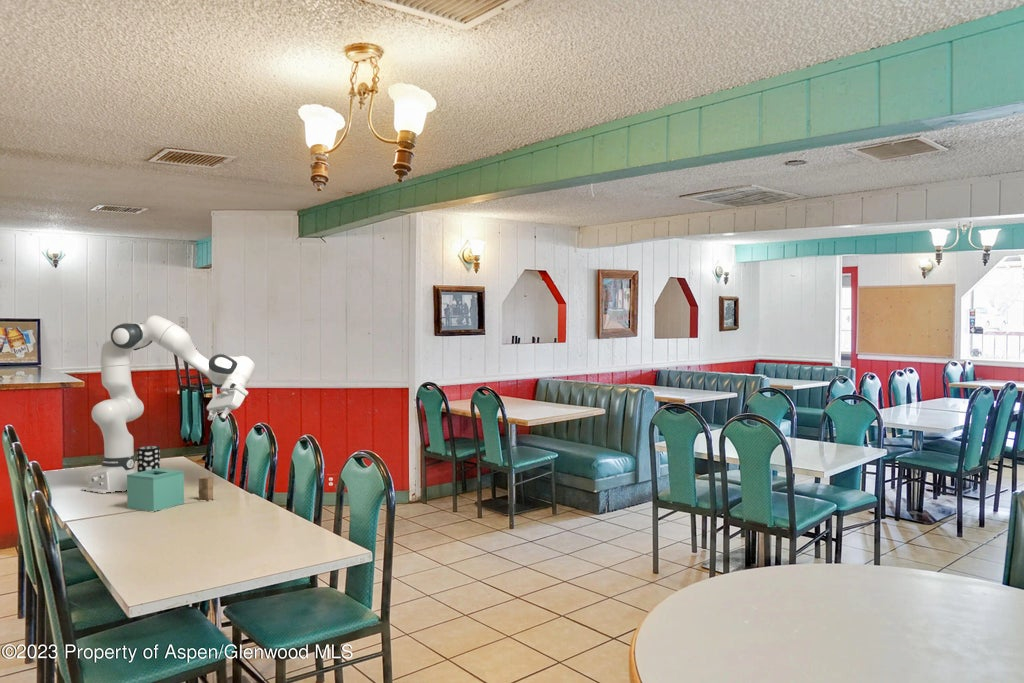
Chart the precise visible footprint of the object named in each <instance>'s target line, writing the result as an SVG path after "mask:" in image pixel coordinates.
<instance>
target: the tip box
mask: <svg viewBox="0 0 1024 683" xmlns="http://www.w3.org/2000/svg"><path fill="white" fill-rule="evenodd" d="M184 474H185V471H184V470H179V469H169V468H161V467H160V468H156V469H151V470H146V471H142V472H137V471H136V473H132V474H128V475H127V491H126V494H127V495H126V496H127V497H126V500H127V501H126V502H127V504H126V505H127V506H126V507H127V509H128V508H131V509H130V510H135V509H138V510H137V511H142V510H147V511H146V512H149V511H156V512H158V511H157V510H160V511H162V510H161V509H164V508H167V509H169V508H168V507H171V508H173V507H172V506H174V507H176V506H175V505H178V506H181V505H184V504H185V477H184V476H185V475H184ZM183 503H184V504H183ZM180 504H181V505H180ZM164 510H165V509H164Z"/></svg>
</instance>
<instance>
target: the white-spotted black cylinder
mask: <svg viewBox="0 0 1024 683" xmlns="http://www.w3.org/2000/svg"><path fill="white" fill-rule="evenodd" d="M136 454H137V455H136V460H137V461H136V464H137V465H136V466H137V471H136V473H137V472H142V471H146V470H151V469H156V468H161V447H160V446H159V445H147V446H139V447H137V448H136Z"/></svg>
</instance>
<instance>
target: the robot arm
mask: <svg viewBox="0 0 1024 683" xmlns="http://www.w3.org/2000/svg"><path fill="white" fill-rule="evenodd" d="M153 343H156V345H157V344H158V345H159V346H161V347H162V348H163V349H165V350H167V351H168V352H170V353H172V354H173V355H175V356H176V357H178V358H179V359H181V360H183V361H184V362H185V363H187V364H188V365H189V366H191V367H192V368H194V369H195V370H197V371H198V372H199V373H201V374H202V375H203V376H204V377H205V378H206V379H207V380H208V382H209V384H211V385H212V387H215V388H219V392H218V393H217V394H215V395H214V396H213V397H212V398H211V400H210V401H209V403H208V404H207V405H206V411H208V416H207V420H208V421H213V420H214V419H215V415H216V414H217V413H220V415H219V418H220V419H226V417H227V416H228V415H229V414H230V412H232V411H233V410H237V409H239V407H240V406H241V405H242V403H243V402H244V400H245V398H246V396H248V395H249V391H248V390H247V389H246V388H247V387H246V386H247V385H248V383H249V382H250V381H251V379H252V377H253V376H254V372H255V370H256V364H255V362H254V360H252V359H251V358H250V357H249V356H247V355H240V356H231V355H227V354H222V353H218V354H215V355H213V356H211V358H209V359H208V357H205V356H204V355H203V354H201V353H200V352H199V351H198V350H197V348H196V346H195V345H194V343H193V341H192V338H191V336H190V334H189V333H188V332H187V331H186V330H185V329H184V328H183V327H181V326H180V325H178V324H177V323H175V322H173V321H172V320H169V319H168V318H165V317H163V316H160V315H158V314H155V315H154V314H153V315H150V316H149V317H147V318H146V319H145V320H144V321H143V322H142V323H141V322H129V323H127V322H126V323H125V322H124V323H121V324H118V325H116V326H114V328H113V329H112V330H111V332H110V339H109V340H107V341H105V342H104V343H103V344H102V346H101V351H100V375H101V385H102V386H103V388H105V389H106V390H107V392H108V394H109V397H110V399H105V400H102V401H100V402H98V403H97V404H95V405H94V406H93V407H92V410H91V419H92V421H93V422H94V423H95V424H97V426H98V427H99V429H100V431H101V435H102V436H103V444H104V445H103V449H104V450H103V451H104V454H103V455H104V457H102V458H101V457H100V459H99V462H101V464H100V466H99V467H98V468H96V469H95V470H94V471H93V472H92V473H89V476H88V479H87V485H85V486H82V487H81V491H84V490H86V491H85V492H90V491H93V492H92V493H95V492H98V493H97V494H101V493H103V494H107V493H106V492H111V493H116V492H115V491H122V492H127V491H126V490H127V475H128V474H132V473H137V471H136V468H135V463H136V455H135V453H134V451H135V450H134V449H135V448H134V447H135V446H134V444H135V443H134V442H135V441H134V436H133V435H132V434H131V433H130V432H129V429H128V427H127V423H129V422H133V421H135V420H136V419H138V418H140V417H141V416H142V415H143V413H144V412H145V411H144V410H145V406H144V403H143V401H142V400H141V399H140V398H139V397H138V395H137V394H136V391H135V389H134V386H133V382H132V374H131V372H132V370H131V359H130V358H131V357H130V356H131V354H132V352H133V351H138V350H140V349H143V348H145V347H146V348H147V347H148V346H150V345H151V344H153Z"/></svg>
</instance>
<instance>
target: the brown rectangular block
mask: <svg viewBox="0 0 1024 683" xmlns="http://www.w3.org/2000/svg"><path fill="white" fill-rule="evenodd" d="M212 499H213V500H214V477H210V476H208V477H207V476H201V477H198V501H200V500H206V501H205V502H210V501H209V500H212ZM213 500H212V501H213Z"/></svg>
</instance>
